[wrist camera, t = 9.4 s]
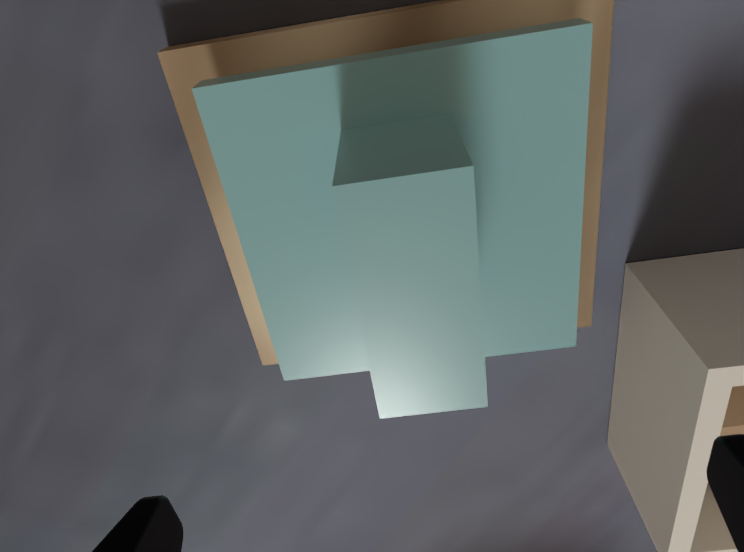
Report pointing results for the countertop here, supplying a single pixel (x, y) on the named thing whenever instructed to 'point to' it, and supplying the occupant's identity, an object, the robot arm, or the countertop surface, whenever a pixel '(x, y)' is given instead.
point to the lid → (412, 206)
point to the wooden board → (370, 34)
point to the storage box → (678, 391)
